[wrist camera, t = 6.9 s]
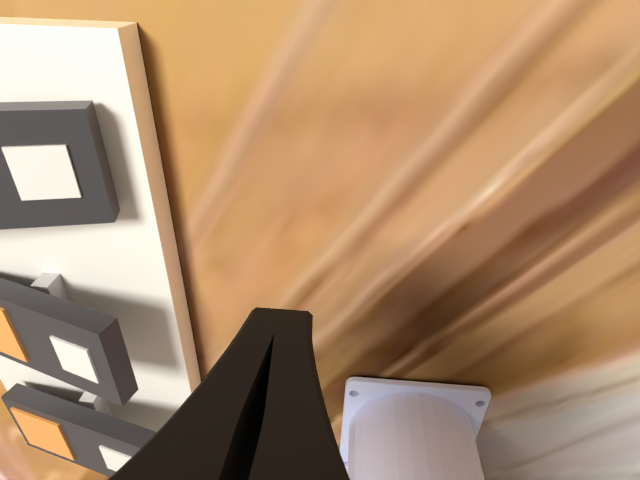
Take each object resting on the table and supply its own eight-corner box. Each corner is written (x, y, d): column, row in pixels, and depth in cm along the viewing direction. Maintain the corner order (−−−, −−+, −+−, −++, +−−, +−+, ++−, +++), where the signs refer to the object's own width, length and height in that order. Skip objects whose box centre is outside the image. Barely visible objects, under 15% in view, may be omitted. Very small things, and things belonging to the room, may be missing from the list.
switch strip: (211, 438, 29) (200, 476, 27) (50, 424, 30) (27, 460, 28) (136, 22, 16) (102, 33, 14) (-157, 10, 16) (-232, 19, 14)
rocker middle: (138, 389, 20) (120, 409, 19) (-3, 333, 23) (-24, 348, 22) (117, 317, 18) (95, 336, 17) (-38, 264, 21) (-63, 278, 20)
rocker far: (169, 478, 25) (157, 498, 24) (41, 430, 27) (26, 446, 26) (155, 431, 23) (141, 451, 22) (16, 383, 25) (-2, 399, 24)
